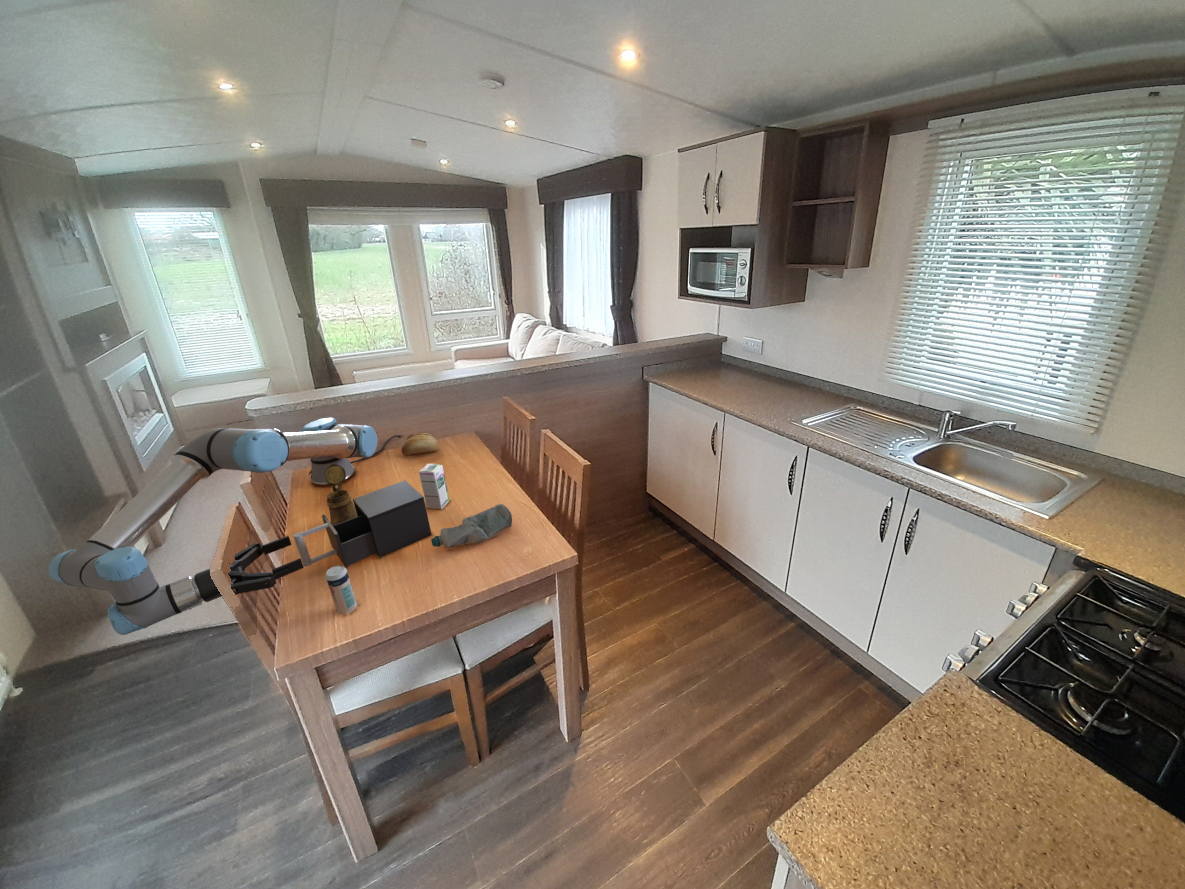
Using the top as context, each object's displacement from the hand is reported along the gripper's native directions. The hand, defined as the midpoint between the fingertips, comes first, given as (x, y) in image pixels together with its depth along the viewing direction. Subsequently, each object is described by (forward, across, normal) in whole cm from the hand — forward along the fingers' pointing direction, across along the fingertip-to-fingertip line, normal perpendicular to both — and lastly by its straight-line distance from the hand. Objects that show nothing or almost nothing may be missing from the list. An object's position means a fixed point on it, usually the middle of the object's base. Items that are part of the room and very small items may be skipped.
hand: (296, 551), depth 128 cm
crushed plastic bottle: (+43, +17, -8) cm, 47 cm away
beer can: (+5, +22, -9) cm, 24 cm away
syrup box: (+44, -8, -8) cm, 45 cm away
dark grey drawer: (+12, 0, -7) cm, 14 cm away
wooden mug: (+17, -21, -8) cm, 29 cm away
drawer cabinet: (+26, 0, -8) cm, 27 cm away
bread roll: (+57, -53, -8) cm, 78 cm away
